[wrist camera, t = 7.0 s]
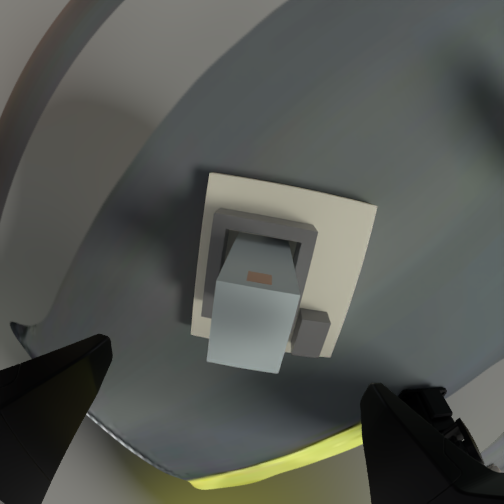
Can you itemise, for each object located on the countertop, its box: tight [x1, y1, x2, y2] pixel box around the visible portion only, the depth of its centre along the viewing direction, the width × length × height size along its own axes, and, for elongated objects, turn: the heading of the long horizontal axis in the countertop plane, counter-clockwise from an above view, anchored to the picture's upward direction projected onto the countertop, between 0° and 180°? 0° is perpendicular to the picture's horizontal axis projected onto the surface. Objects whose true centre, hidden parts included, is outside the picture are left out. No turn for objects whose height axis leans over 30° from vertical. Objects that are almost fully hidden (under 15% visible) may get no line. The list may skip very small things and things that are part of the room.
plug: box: [207, 232, 300, 374], centre depth 15 cm, size 4×3×8 cm
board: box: [191, 172, 377, 358], centre depth 19 cm, size 12×11×3 cm
